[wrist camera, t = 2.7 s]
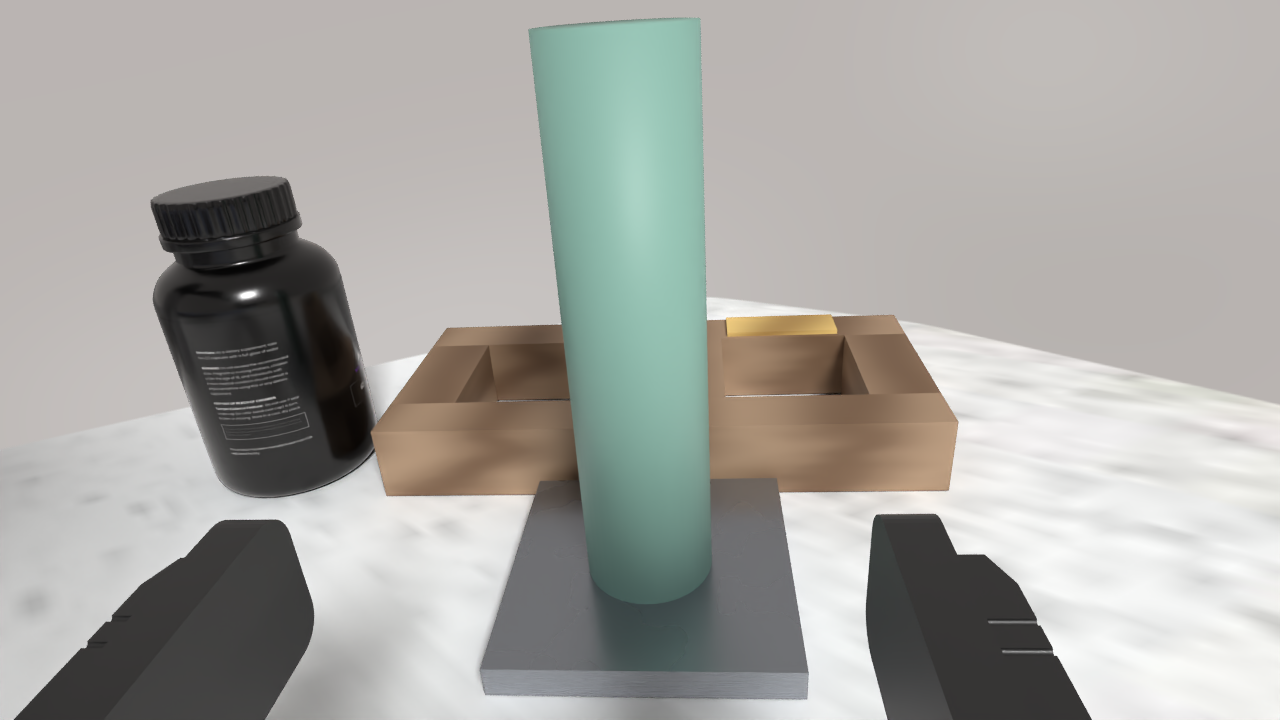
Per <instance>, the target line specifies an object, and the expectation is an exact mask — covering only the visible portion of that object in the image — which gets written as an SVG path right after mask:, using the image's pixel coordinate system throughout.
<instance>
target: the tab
mask: <svg viewBox="0 0 1280 720" xmlns="http://www.w3.org/2000/svg"><path fill="white" fill-rule="evenodd" d="M710 499H711V546H712V564H711V568H710V571H709V574H708V576H707V577H706V579H705V580H704V581H703V583H702V584H701V585H700V586H699V587H697V588H696V589H695V590H694V591H692V592H691V593H689V594H687V595H685V596H683V597H681V598H679V599H676V600H673V601H669V602H665V603H659V604H635V603H629V602H625V601H622V600H619V599H616V598H614V597H612V596H610V595H608V594H607V593H605V592H604V591H603V590H601V589H600V588H599V587H598V586H597V584H596V583H595V582H594V580H593V578H592V577H591V574H590V570H589V562H588V553H587V544H586V535H585V526H584V517H583V508H582V500H581V491H580V482H579V480H558V481H540V482H539V485H538V488H537V491H536V495H535V498H534V501H533V504H532V507H531V510H530V514H529V517H528V520H527V523H526V526H525V529H524V532H523V536H522V539H521V542H520V545H519V548H518V551H517V554H516V558H515V561H514V564H513V567H512V570H511V573H510V576H509V580H508V583H507V586H506V589H505V592H504V595H503V598H502V602H501V605H500V608H499V611H498V614H497V617H496V620H495V624H494V627H493V630H492V633H491V636H490V639H489V643H488V646H487V649H486V652H485V655H484V658H483V661H482V665H481V668H480V672H481V677H482V682H483V686H484V691H485V695H532V696H605V697H677V698H750V699H807V695H808V675H809V672H808V666H807V660H806V654H805V648H804V642H803V636H802V630H801V624H800V617H799V611H798V605H797V599H796V593H795V587H794V581H793V575H792V569H791V562H790V556H789V550H788V544H787V538H786V532H785V526H784V520H783V514H782V507H781V501H780V495H779V489H778V483H777V478H736V479H710Z"/></svg>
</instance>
